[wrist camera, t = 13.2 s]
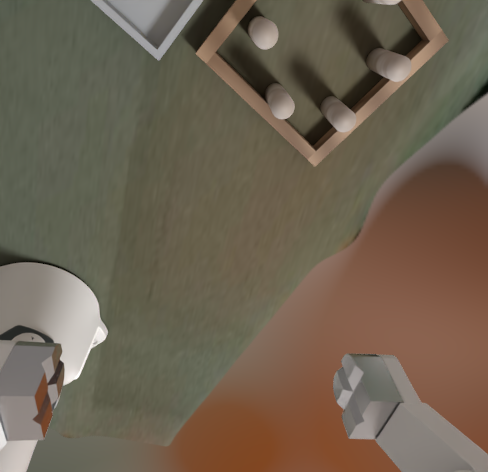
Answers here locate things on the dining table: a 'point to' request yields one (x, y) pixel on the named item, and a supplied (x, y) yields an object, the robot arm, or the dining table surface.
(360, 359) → the robot arm
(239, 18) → the wooden peg board
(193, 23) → the dining table surface
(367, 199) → the dining table surface
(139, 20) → the tray
